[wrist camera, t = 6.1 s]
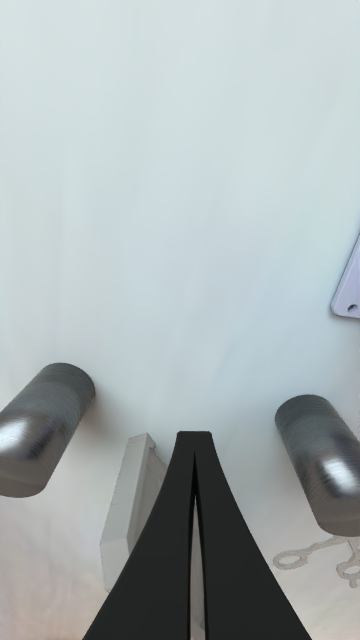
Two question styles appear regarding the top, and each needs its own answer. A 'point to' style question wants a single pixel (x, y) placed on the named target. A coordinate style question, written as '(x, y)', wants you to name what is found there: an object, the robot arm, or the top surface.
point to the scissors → (332, 541)
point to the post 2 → (323, 461)
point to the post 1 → (41, 427)
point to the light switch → (143, 521)
